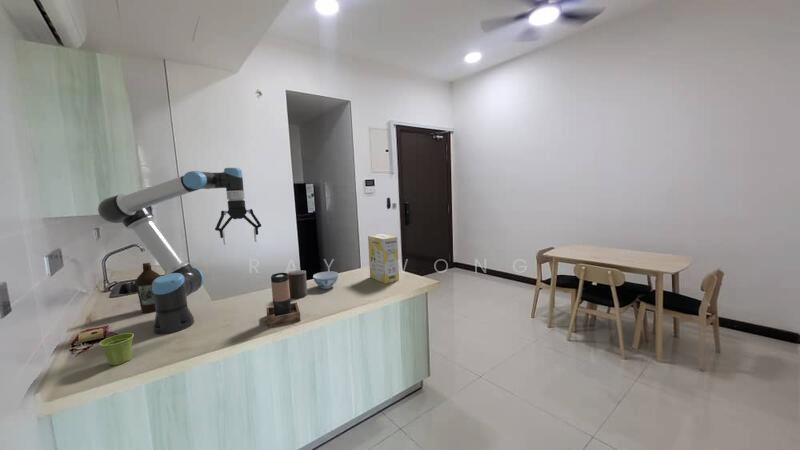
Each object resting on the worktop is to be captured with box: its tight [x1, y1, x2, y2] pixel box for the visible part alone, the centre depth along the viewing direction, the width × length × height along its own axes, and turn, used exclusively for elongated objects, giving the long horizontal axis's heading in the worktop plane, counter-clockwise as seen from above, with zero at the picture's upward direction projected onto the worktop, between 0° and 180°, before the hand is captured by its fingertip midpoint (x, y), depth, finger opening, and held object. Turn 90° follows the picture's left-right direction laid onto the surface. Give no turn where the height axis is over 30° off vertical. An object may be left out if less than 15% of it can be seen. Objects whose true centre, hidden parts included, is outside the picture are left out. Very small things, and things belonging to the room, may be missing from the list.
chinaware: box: [312, 270, 339, 290], centre depth 190 cm, size 15×15×8 cm
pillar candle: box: [288, 269, 308, 300], centre depth 176 cm, size 10×10×15 cm
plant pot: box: [98, 332, 135, 366], centre depth 114 cm, size 9×9×9 cm
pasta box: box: [367, 233, 400, 285], centre depth 201 cm, size 18×10×28 cm, turn 37°
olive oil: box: [135, 262, 161, 314], centre depth 163 cm, size 11×11×25 cm
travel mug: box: [270, 272, 291, 316], centre depth 145 cm, size 8×8×20 cm
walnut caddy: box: [266, 302, 301, 328], centre depth 147 cm, size 14×14×4 cm
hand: (240, 242), depth 154 cm, fingers open, 13 cm apart
